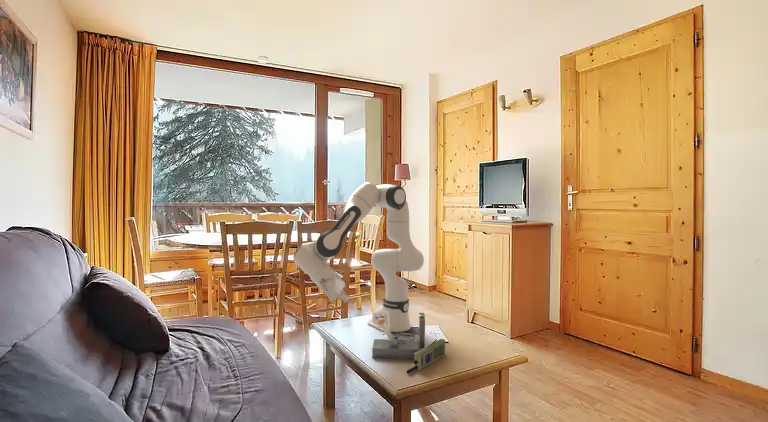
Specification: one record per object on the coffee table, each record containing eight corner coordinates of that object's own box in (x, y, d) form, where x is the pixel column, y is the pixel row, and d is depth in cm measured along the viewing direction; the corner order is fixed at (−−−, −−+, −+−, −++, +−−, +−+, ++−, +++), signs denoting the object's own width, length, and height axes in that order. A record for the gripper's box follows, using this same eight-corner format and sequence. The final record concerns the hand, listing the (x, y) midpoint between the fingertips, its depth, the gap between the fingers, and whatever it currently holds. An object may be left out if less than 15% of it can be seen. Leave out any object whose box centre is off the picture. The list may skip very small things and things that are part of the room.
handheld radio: (446, 355, 167) (411, 377, 148) (439, 354, 169) (404, 374, 150) (446, 339, 167) (411, 358, 148) (439, 338, 169) (404, 356, 150)
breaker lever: (391, 345, 167) (376, 321, 166) (391, 343, 169) (377, 319, 169) (396, 342, 166) (382, 318, 166) (397, 340, 169) (382, 316, 169)
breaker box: (372, 357, 164) (372, 317, 163) (374, 348, 174) (374, 310, 173) (424, 359, 162) (425, 318, 162) (423, 349, 172) (424, 311, 172)
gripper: (324, 277, 157) (349, 302, 157) (333, 267, 178) (355, 289, 178) (313, 288, 158) (337, 313, 158) (323, 276, 178) (345, 299, 178)
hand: (347, 300), depth 168 cm, fingers closed
